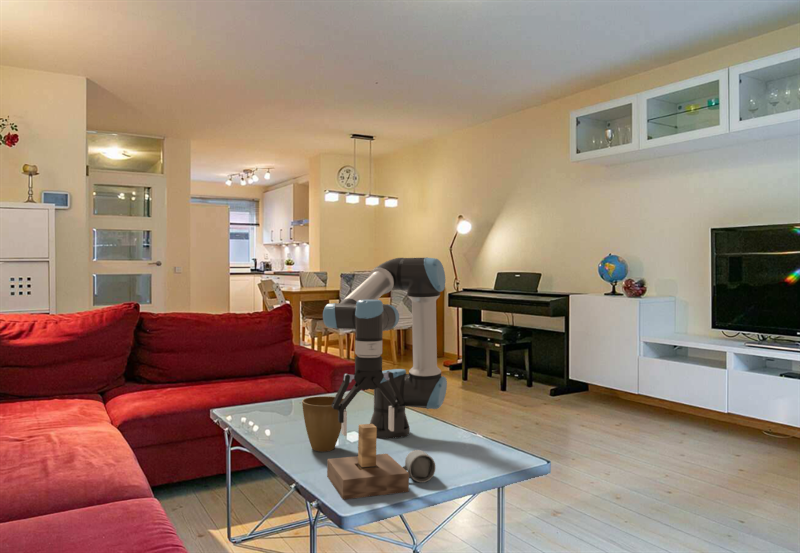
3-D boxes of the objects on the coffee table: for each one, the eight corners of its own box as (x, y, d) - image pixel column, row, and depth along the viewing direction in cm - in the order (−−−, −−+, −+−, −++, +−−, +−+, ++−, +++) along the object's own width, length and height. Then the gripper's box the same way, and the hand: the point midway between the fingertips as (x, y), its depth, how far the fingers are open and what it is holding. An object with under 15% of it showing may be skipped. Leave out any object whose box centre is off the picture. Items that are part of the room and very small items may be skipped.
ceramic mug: (427, 472, 169) (427, 445, 169) (435, 481, 161) (435, 454, 161) (392, 475, 167) (392, 448, 167) (399, 484, 159) (399, 457, 159)
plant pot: (303, 456, 182) (304, 406, 182) (299, 443, 196) (300, 396, 196) (350, 453, 186) (350, 404, 186) (342, 441, 200) (343, 395, 200)
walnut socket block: (386, 470, 170) (387, 453, 170) (408, 491, 153) (408, 473, 153) (327, 476, 164) (327, 459, 164) (342, 499, 147) (343, 479, 147)
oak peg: (371, 477, 161) (372, 423, 161) (375, 481, 157) (376, 427, 157) (357, 478, 160) (358, 424, 160) (361, 483, 156) (362, 428, 156)
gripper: (327, 359, 151) (326, 439, 151) (415, 355, 159) (414, 431, 160) (321, 355, 158) (320, 432, 158) (406, 352, 167) (405, 425, 167)
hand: (367, 432), depth 159 cm, fingers open, 13 cm apart
